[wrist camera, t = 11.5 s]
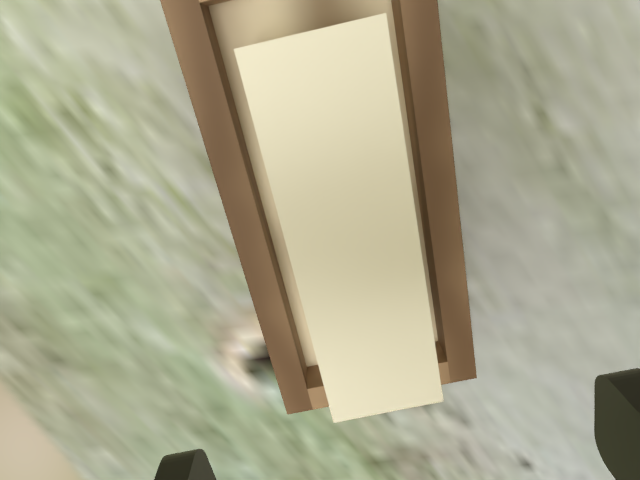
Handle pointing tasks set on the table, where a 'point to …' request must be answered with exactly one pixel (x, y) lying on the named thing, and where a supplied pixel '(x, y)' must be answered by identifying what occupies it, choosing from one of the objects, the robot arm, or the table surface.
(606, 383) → the robot arm
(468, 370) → the wooden serving tray
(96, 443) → the table surface
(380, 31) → the block
